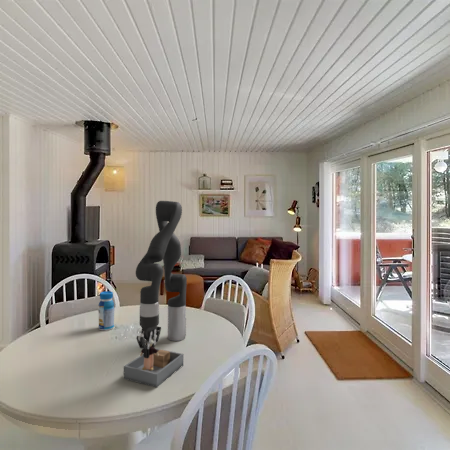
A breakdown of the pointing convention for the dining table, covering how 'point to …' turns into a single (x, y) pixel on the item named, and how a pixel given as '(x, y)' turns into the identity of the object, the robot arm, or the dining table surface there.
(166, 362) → the walnut block
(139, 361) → the tote
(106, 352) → the dining table surface
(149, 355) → the grandmother figurine
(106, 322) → the blue labelled canister
